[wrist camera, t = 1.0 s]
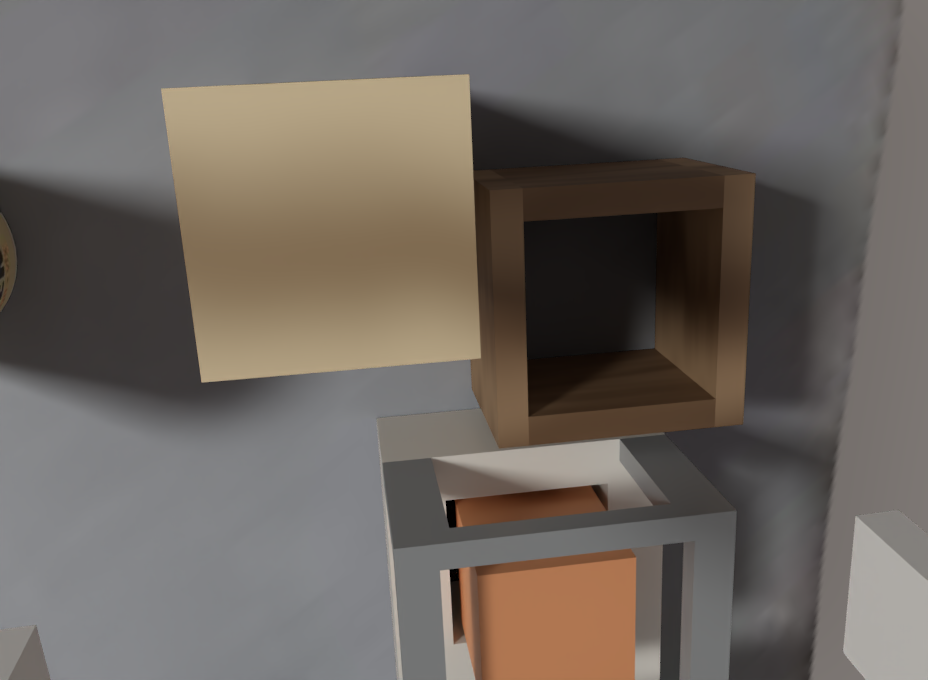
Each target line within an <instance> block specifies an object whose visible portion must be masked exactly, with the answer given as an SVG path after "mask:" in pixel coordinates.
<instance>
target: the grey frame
mask: <svg viewBox="0 0 928 680" xmlns="http://www.w3.org/2000/svg"><path fill="white" fill-rule="evenodd" d="M377 431H378V443H379V456H380V469H381V482H382V494H383V507H384V520H385V533H386V545H387V558H388V571H389V584H390V596H391V609H392V622H393V635H394V647H395V660H396V673H397V680H475V676H474V672H473V667H472V663H471V659H470V655H469V651H468V646H467V642H466V638H465V634H464V630H463V625H462V621H461V606H460V587H459V581H454V582H450V570H449V569H457V568H466V567H475V566H483V565H492V564H501V563H509V562H518V561H527V560H535V559H544V558H552V557H561V556H570V555H578V554H587V553H596V552H604V551H613V550H622V549H630V548H631V550H632V551H633V553H634V555H635V556H636V618H635V680H660V644H661V600H662V556H663V545H665V544H673V543H682V542H684V547H683V580H682V613H681V646H680V679H679V680H729V661H730V640H731V620H732V600H733V579H734V559H735V538H736V518H737V510H736V509H735V508H734V507H733V506H732V505H731V504H730V503H729V502H728V501H727V500H726V499H725V498H724V496H723V495H722V494H721V493H720V492H719V491H718V490H717V489H716V488H715V487H714V486H713V485H712V484H711V483H710V482H709V481H708V479H707V478H706V477H705V476H704V475H703V474H702V473H701V472H700V471H699V470H698V469H697V468H696V467H695V466H694V465H693V463H692V462H691V461H690V460H689V459H688V458H687V457H686V456H685V455H684V454H683V453H682V452H681V451H680V450H679V449H678V448H677V446H676V445H675V444H674V443H673V442H672V441H671V440H670V439H669V438H668V437H667V436H666V435H665V434H664V433H663V432H662V433H652V434H641V435H631V436H621V437H611V438H601V439H591V440H581V441H571V442H561V443H551V444H541V445H531V446H521V447H511V448H501V449H499V448H498V446H497V443H496V441H495V439H494V437H493V435H492V432H491V430H490V428H489V426H488V423H487V421H486V419H485V417H484V415H483V412H482V410H481V408H480V409H469V410H458V411H448V412H437V413H426V414H416V415H405V416H394V417H384V418H377ZM588 485H591V487H592V489H593V490H594V492H595V493H596V495H597V496H598V498H599V500H600V501H601V503H602V504H603V506H604V507H605V509H606V511H601V512H592V513H583V514H574V515H565V516H555V517H546V518H537V519H528V520H519V521H510V522H501V523H492V524H483V525H474V526H465V527H455V528H449V525H448V521H447V517H446V501H447V500H456V499H466V498H475V497H484V496H494V495H503V494H513V493H522V492H532V491H541V490H550V489H560V488H569V487H579V486H588Z"/></svg>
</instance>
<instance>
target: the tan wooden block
mask: <svg viewBox="0 0 928 680" xmlns="http://www.w3.org/2000/svg"><path fill="white" fill-rule="evenodd" d="M161 91H162V99H163V106H164V113H165V120H166V128H167V135H168V142H169V149H170V157H171V164H172V171H173V178H174V186H175V193H176V200H177V208H178V215H179V222H180V229H181V237H182V244H183V251H184V258H185V266H186V273H187V280H188V287H189V295H190V302H191V309H192V316H193V324H194V331H195V338H196V345H197V353H198V360H199V367H200V374H201V382H202V383H203V382H214V381H226V380H237V379H249V378H261V377H272V376H284V375H295V374H307V373H318V372H330V371H341V370H353V369H364V368H376V367H387V366H399V365H410V364H422V363H433V362H445V361H456V360H468V359H479V358H481V350H480V326H479V301H478V277H477V253H476V228H475V204H474V180H473V156H472V131H471V107H470V83H469V74H466V75H442V76H418V77H395V78H373V79H352V80H330V81H309V82H288V83H266V84H245V85H225V86H205V87H186V88H166V89H161Z"/></svg>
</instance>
